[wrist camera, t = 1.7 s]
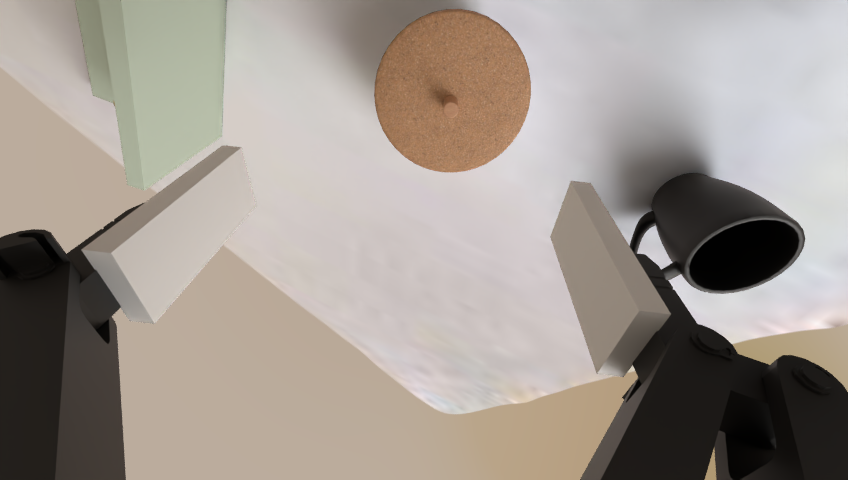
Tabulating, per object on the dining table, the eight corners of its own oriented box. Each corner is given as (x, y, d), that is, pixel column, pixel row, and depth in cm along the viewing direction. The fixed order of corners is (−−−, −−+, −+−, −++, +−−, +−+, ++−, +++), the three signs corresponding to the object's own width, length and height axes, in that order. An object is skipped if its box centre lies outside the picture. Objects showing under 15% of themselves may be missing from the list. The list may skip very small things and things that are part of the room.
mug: (590, 200, 37) (624, 259, 29) (724, 144, 32) (806, 197, 25) (611, 253, 41) (646, 318, 33) (733, 210, 36) (806, 274, 28)
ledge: (57, -176, 23) (-189, -267, 14) (229, -92, 25) (105, -127, 16) (103, 92, 33) (-22, 134, 25) (221, 136, 35) (144, 190, 27)
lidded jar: (373, 24, 28) (343, 42, 21) (507, -18, 26) (528, -14, 19) (410, 147, 35) (397, 195, 27) (521, 122, 32) (541, 167, 25)
